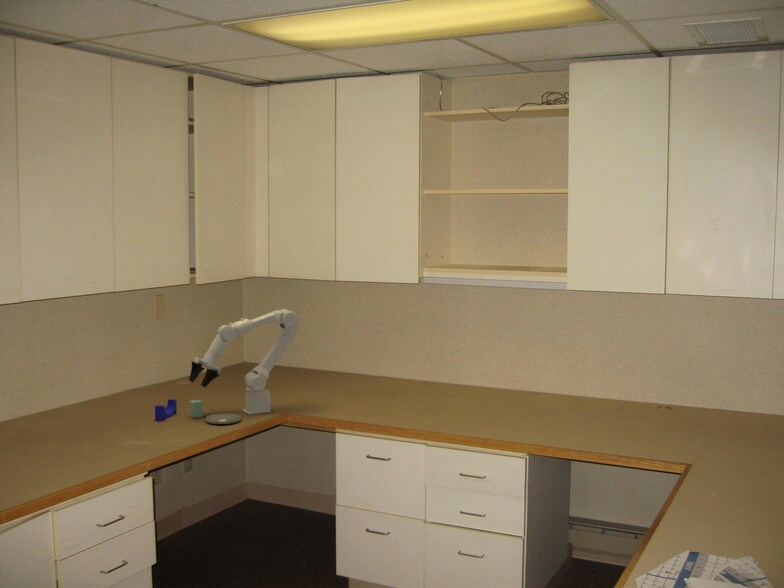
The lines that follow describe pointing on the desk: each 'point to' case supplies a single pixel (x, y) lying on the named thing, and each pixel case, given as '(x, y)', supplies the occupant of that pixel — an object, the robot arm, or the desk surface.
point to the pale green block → (196, 408)
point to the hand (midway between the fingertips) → (196, 383)
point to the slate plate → (223, 418)
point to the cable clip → (165, 410)
